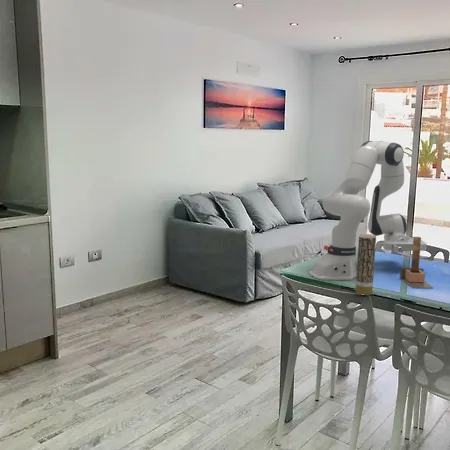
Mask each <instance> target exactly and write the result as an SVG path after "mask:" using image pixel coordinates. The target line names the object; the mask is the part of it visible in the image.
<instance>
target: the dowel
mask: <svg viewBox="0 0 450 450" xmlns="http://www.w3.org/2000/svg"><path fill="white" fill-rule="evenodd" d="M413 237H414V238H413V251H411V264H410V265H411V266H410V268H411V272H412V273H418V271H419V268H420V259H421V257H420V255H421V251H420V245H421V240H422V237H421V236H413Z"/></svg>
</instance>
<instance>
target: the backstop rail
mask: <svg viewBox="0 0 450 450" xmlns="http://www.w3.org/2000/svg"><path fill="white" fill-rule="evenodd" d="M406 270H411V267H400V272H399V279H400V280H401V281H403V282H404V283H405V284H407V285H408V286H409V287H410V288H412V289H430V290H431V289H432V290H433V289H434V286H432V285H431V284H430V283H428V282H427V281H425V282H409V281H408V280H407V279H406V278H405V271H406ZM419 270H421V271H422V272H423V273H424V272H425V271H424V270H425V269H424V268H422V267H419Z"/></svg>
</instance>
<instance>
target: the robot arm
mask: <svg viewBox="0 0 450 450" xmlns="http://www.w3.org/2000/svg"><path fill="white" fill-rule="evenodd" d="M404 155H405V152H404V149H403V146H402V145H401V144H399V143H396V142H390V141H384V140H367V141H365V142H363V143H362V144H361V145H360V147H359V148H358V150H357V151H356V153H355V154H354V156H353V158H352V160H351V162H350V165H349V167H348V169H347V171H346V173H345V175H344V177H343V179H342V180H341V182H340V183H339V184H338V185H336V187H335V188H334V189H333V190H331V191H330V192H328V193H326V194H325V196H324V197H323V199H322V208H323V210H324V211H325V212H327V213H328V214H331V215H333V216H338V217H340V219H339V222H338V224H337V225H335V226H334V227H333V228H332V231H331V242H330V243H331V244H330V246H328V245H324V246H323V249H324V250H325V251H327V252H326V253H325V254H324V255H322V256H321V257H319V258H318V259H316V261H315V262H314V267H313V269H312V270H309V271H308V274H309V276H311V277H312V276H313V277H312V278H314V279H317V280H322V281H328V280H329V281H330V280H331V281H343V280H344V281H352V280H353V279H356V275H357V267H356V255H357V246H356V239H357V233H358V228H359V225H360V224H361V222H362V221H363V219H365V218H366V217H367V216H368V215H369V217H368V218H369V219H368V222H367V229H368V232H369V234H371V235H376V237H377V236H381V235H383V239H384V240H383V242H380V245H381V246H382V248H383V249H384V250H386V251H395V252H397V253H405V252H413V238H414V237H415V236H409V235H406V233H407V230H408V224H407V221H406V219H405V217H404V216H403V215H402V214H401V213H390V214H383V215H380V214H381V209H382V208H381V207H382V202H383V200H385V198H387V197H389V196H390V195H392V194H394V193H396V192H398V191H399V190H400V189H401V188H402V187H403V185H404V183H405V166H404V165H405V164H404V161H403V159H404ZM377 165H380V180H379V182H378V184H377V185H376V186H375V187H374V190H373V194H372V199H371V203H370V201H369V200H368V199H367V198H366V197H363V196H362V195H359V194H358V193H360V192H361V191H363V190H365V189H366V188H367V186H368V185H369V182H370V179H371V177H372V175H373V173H374V171H375V168H376V166H377ZM369 213H370V214H369ZM427 244H428V243H427V242H425V241H424V240H423V239H421V245H420V252H424V251H427V248H428V247H427V246H428V245H427Z"/></svg>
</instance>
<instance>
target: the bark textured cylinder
mask: <svg viewBox="0 0 450 450" xmlns="http://www.w3.org/2000/svg"><path fill="white" fill-rule="evenodd" d="M376 243H377V236H376V235H373V234H371V233H362V234H359V235H358V245H357V248H358V249H357V261H356V274H357V275H356V277H355V279H356V280H355V294H356V293H358V294H364V295H367V296H366V297H369V296H372V295H373V288H374V287H373V286H374V272H375V260H376V259H375V258H376V247H377V246H376V245H377V244H376ZM358 294H357V295H358Z"/></svg>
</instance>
